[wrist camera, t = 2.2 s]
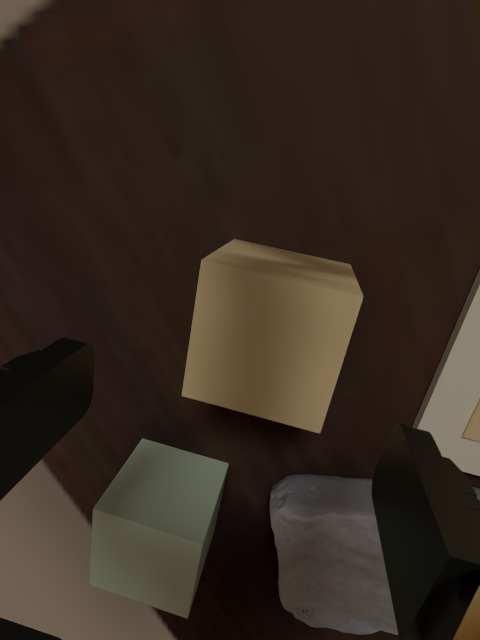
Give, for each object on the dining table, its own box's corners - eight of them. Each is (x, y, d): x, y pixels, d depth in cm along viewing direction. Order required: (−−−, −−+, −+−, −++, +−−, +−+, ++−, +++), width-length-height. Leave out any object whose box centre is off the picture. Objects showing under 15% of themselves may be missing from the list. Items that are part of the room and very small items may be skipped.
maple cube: (350, 264, 17) (363, 296, 12) (319, 368, 19) (319, 433, 14) (234, 238, 18) (201, 260, 13) (216, 342, 20) (181, 395, 15)
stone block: (468, 576, 24) (503, 474, 19) (495, 673, 20) (548, 577, 15) (283, 549, 27) (271, 454, 22) (274, 629, 23) (257, 536, 18)
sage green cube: (229, 462, 22) (203, 544, 17) (215, 528, 24) (187, 618, 19) (142, 437, 23) (93, 508, 18) (135, 503, 25) (89, 584, 20)
